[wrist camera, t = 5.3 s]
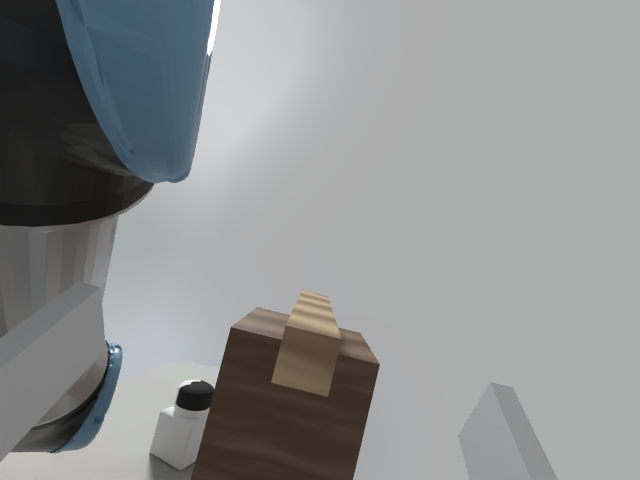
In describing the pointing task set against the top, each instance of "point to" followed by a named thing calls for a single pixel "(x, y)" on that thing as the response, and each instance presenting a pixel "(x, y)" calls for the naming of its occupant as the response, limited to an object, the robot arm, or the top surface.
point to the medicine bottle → (183, 425)
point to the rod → (309, 346)
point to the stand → (284, 410)
